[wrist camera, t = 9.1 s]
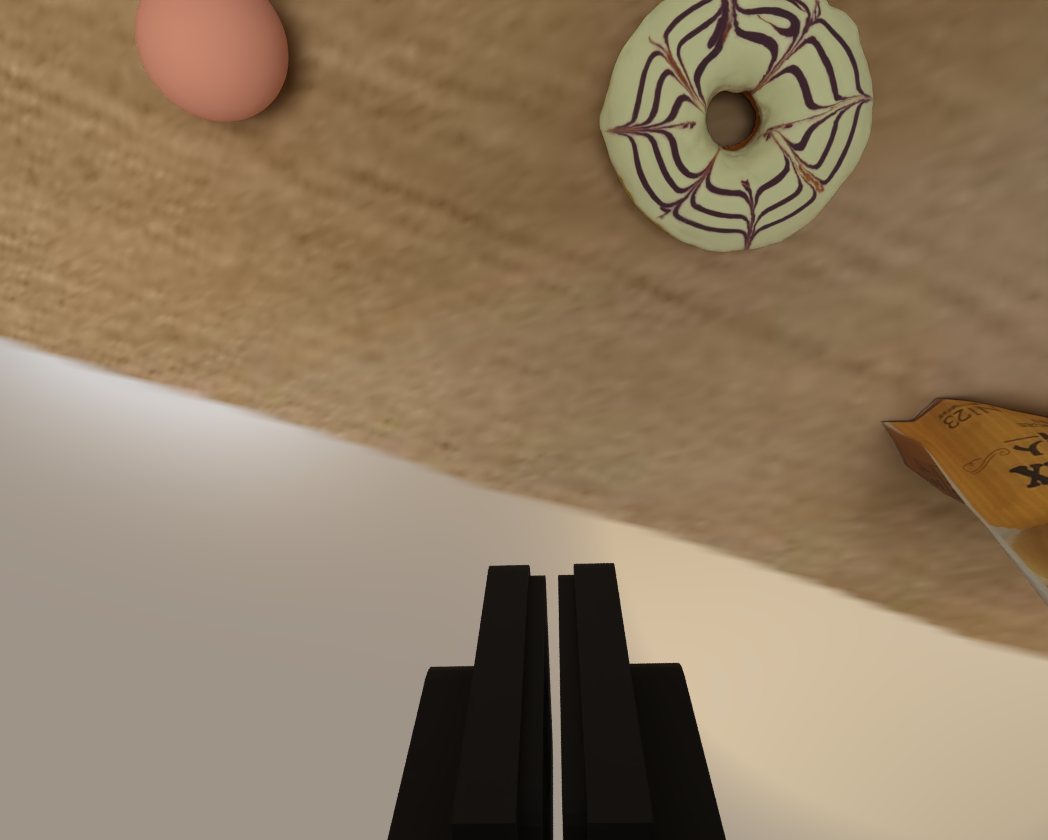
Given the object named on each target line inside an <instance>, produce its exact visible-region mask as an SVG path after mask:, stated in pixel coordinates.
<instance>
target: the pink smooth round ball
mask: <svg viewBox="0 0 1048 840" xmlns="http://www.w3.org/2000/svg"><path fill="white" fill-rule="evenodd" d="M135 39H136V45H137V49H138V53H139V56H140V59H141V62H142V64H143V66H144V68H145V70H146V72H147V74H148V75H149V77H150V78H151V80H152V81H153V83H154V84H155V85H156V87H157V88H158V89H159V90H160V91H161V92H162V94H163V95H165V96H166V97H167V98H168V99H169V100H170V101H171V102H172V103H174V104H175V105H176V106H178V107H180V108H181V109H183V110H184V111H186V112H188V113H190V114H192V115H194V116H197V117H200V118H203V119H206V120H210V121H216V122H234V121H240V120H244V119H248V118H250V117H252V116H254V115H256V114H258V113H260V112H261V111H263V110H264V109H266V108H267V107H268V106H269V105H270V104H271V103H272V102H273V101H274V99H275V98H276V97H277V95H278V94H279V92H280V90H281V88H282V86H283V84H284V81H285V78H286V75H287V70H288V61H289V57H288V44H287V39H286V35H285V31H284V28H283V25H282V23H281V21H280V19H279V16H278V14H277V13H276V11H275V9H274V8H273V6H272V4H271V3H270V2H269V0H140V2H139V5H138V8H137V12H136V18H135Z"/></svg>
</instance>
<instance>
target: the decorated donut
mask: <svg viewBox="0 0 1048 840" xmlns="http://www.w3.org/2000/svg"><path fill="white" fill-rule="evenodd" d="M726 90H727V91H729V92H732V93H739V92H741V93H742V94H745V97H747V98H748V100H749V101H751V103H752V106H753V108H754V109H755V111H756V120H755V127H754V129H753V133H752V134H751V135H749V137H748V138H746V139H745V140H744V141H742V142H740V143H739V144H736V145H735V146H733V147H730V148H729V147H727V145H726V146H725V147H723V148H722V147H721V146H720V145H718V144H716V143H715V142H714V141H713V140H712V138H711V136H710V134H709V132H708V130H707V124H706V114H707V109H708V106H709V103H710V101H711V99H712V98H713V97H714V96H715V95H716V94H717V93H719V92H721V91H726ZM873 100H874V97H873V92H872V80H871V76H870V72H869V68H868V64H867V60H866V58H865V56H864V53H863V50H862V47H861V45H860V40H859V33H858V28H857V26H856V24H855V23H854V22H853V20H852V19H851V18H850V17H849V16H848V15H847V14H846V13H845V12H843V11H842V10H840V9H837V8H835V7H832V6H830V5H829V4H828V2H827V0H664V1H662V2H661V3H660V4H658V5H657V6H656V7H655V8H654V9H653V10H652V12H651V13H649V14H648V15H647V16H646V17H645V18H644V20H643V21H642V22H641V24H640V25H639V27H638V28H637V29H636V31H635V32H634V33H633V35H632V36H631V37H630V39H629V40H628V41H627V43H626V44H625V46H624V47H623V49H622V51H621V53H620V55H619V57H618V59H617V61H616V64H615V66H614V69H613V73H612V76H611V80H610V83H609V86H608V90H607V94H606V98H605V102H604V106H603V108H602V111H601V113H600V119H599V123H600V130H601V132H602V134H603V138H604V141H605V143H606V146H607V150H608V153H609V157H610V160H611V163H612V164H613V166H614V169H615V171H616V173H617V175H618V177H619V180H620V182H621V184H622V186H623V187H624V189H625V191H626V192H627V194H628V196H629V197H630V198H631V200H632V201H633V203H634V204H635V205H636V206H637V207H638V209H639V210H640V211H641V212H642V213H643V214H644V215H645V216H646V217H648V219H649V220H650V221H652V222H653V223H654V224H656V225H657V226H658V227H659V228H660V229H662V230H663V231H665V232H666V233H667V234H669V235H671V236H672V237H674V238H676V239H678V240H680V241H682V242H683V243H686V244H689V245H691V246H695V247H699V248H701V249H704V250H709V251H715V252H716V251H718V252H728V251H732V250H745V249H756V248H760V247H764V246H767V245H770V244H777V243H780V242H782V241H783V240H784V239H786V238H789V237H790V236H791V235H792V234H793V233H795V232H796V231H798V230H800V229H801V228H802V227H803V226H805V225H806V224H807V223H809V222H810V221H812V220H813V219H814V218H815V217H816V216H817V214H819V212H820V211H821V210H822V209H823V207H824V206H825V205H826V204H827V203H828V202H829V201H830V200H831V198H832V196H833V195H834V194H835V192H836V191H837V190H838V188H839V187H840V186H841V184H842V183H843V182H844V181H845V180H846V179H847V178H848V176H849V175H850V174H851V173H852V171H853V170H854V168H855V167H856V165H857V164H858V162H859V160H860V157H861V155H862V153H863V151H864V149H865V146H866V144H867V142H868V139H869V136H870V132H871V124H872V106H873Z"/></svg>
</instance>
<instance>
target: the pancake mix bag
mask: <svg viewBox="0 0 1048 840" xmlns="http://www.w3.org/2000/svg"><path fill="white" fill-rule="evenodd" d="M882 423H883V425H884V426H885V428H886V429H887V431H888V433H889V434H890V436H891V437H892V439H893V441H894V442H895V444H896V447H897V449H898V451H899V453H900V455H901V457H902V459H903V461H904V463H905V465H906V466H908V467H909V468H911V469H912V470H913V471H915V472H916V473H918V474H919V475H920V476H922V477H923V478H925V479H926V480H927V481H929V482H930V483H931V484H933V485H934V486H935V487H937V488H938V489H939V490H940V491H942V492H943V493H945V494H946V495H948V496H950V497H952V498H954V499H956V500H958V501H960V502H962V503H964V504H966V505H967V506H968V507H969V508H970V510H971V511H972V512H973V513H974V514H975V515H976V516H977V517H978V518H979V519H980V520H981V521H982V522H983V524H984V525H985V526H986V527H987V528H988V529H989V531H990V532H991V533H992V535H993V536H994V537H995V538H996V540H997V541H998V542H999V544H1000V545H1001V546H1002V548H1003V549H1004V550H1005V551H1006V553H1007V554H1008V555H1009V556H1010V558H1011V559H1012V560H1013V561H1014V563H1015V564H1016V565H1017V567H1018V568H1019V569H1020V570H1021V572H1022V573H1023V574H1024V575H1025V577H1026V578H1027V579H1028V581H1029V582H1030V583H1031V585H1032V586H1033V587H1034V589H1035V590H1036V591H1037V593H1038V594H1039V595H1040V597H1041V598H1042V599H1043V601H1044V602H1045V603H1046V604H1047V606H1048V417H1042V416H1037V415H1032V414H1027V413H1022V412H1017V411H1012V410H1008V409H1004V408H1000V407H996V406H992V405H987V404H982V403H976V402H970V401H964V400H952V399H940V398H937V399H935V400H934V401H933V402H932V403H931V404H930V405H929V406H928V407H927V408H926V409H925V410H924V411H923V412H921V413H920V414H919V415H918V416H917V417H916V418H915V419H914V420H913V421H899V422H882Z"/></svg>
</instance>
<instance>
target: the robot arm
mask: <svg viewBox="0 0 1048 840" xmlns="http://www.w3.org/2000/svg"><path fill="white" fill-rule="evenodd" d="M558 591H559V592H558V594H559V648H560V649H559V650H560V707H561V761H562V762H561V765H562V815H563V840H726V838H725V834H724V830H723V826H722V823H721V818H720V815H719V810H718V806H717V802H716V798H715V795H714V791H713V787H712V783H711V779H710V775H709V771H708V767H707V763H706V759H705V755H704V751H703V747H702V743H701V739H700V735H699V731H698V727H697V723H696V719H695V715H694V712H693V708H692V703H691V699H690V696H689V692H688V688H687V684H686V680H685V676H684V673H683V670H682V667H681V665H680V664H679V663H652V664H651V663H646V664H629V658H628V651H627V645H626V638H625V632H624V624H623V618H622V612H621V605H620V598H619V592H618V585H617V579H616V572H615V566H614V563H600V564H599V563H597V564H574V575H558ZM550 693H551V692H550V668H549V646H548V622H547V598H546V579H545V576H530V566H529V565H507V566H489V569H488V575H487V582H486V589H485V596H484V602H483V609H482V616H481V623H480V630H479V636H478V644H477V650H476V657H475V664H474V666H458V667H457V666H455V667H430V669H429V670H428V672H427V675H426V678H425V682H424V687H423V691H422V695H421V699H420V704H419V708H418V712H417V717H416V721H415V725H414V729H413V733H412V738H411V742H410V746H409V750H408V755H407V759H406V763H405V767H404V772H403V776H402V780H401V785H400V789H399V793H398V797H397V801H396V806H395V810H394V814H393V819H392V823H391V827H390V831H389V835H388V840H553V741H552V715H551V695H550Z"/></svg>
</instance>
